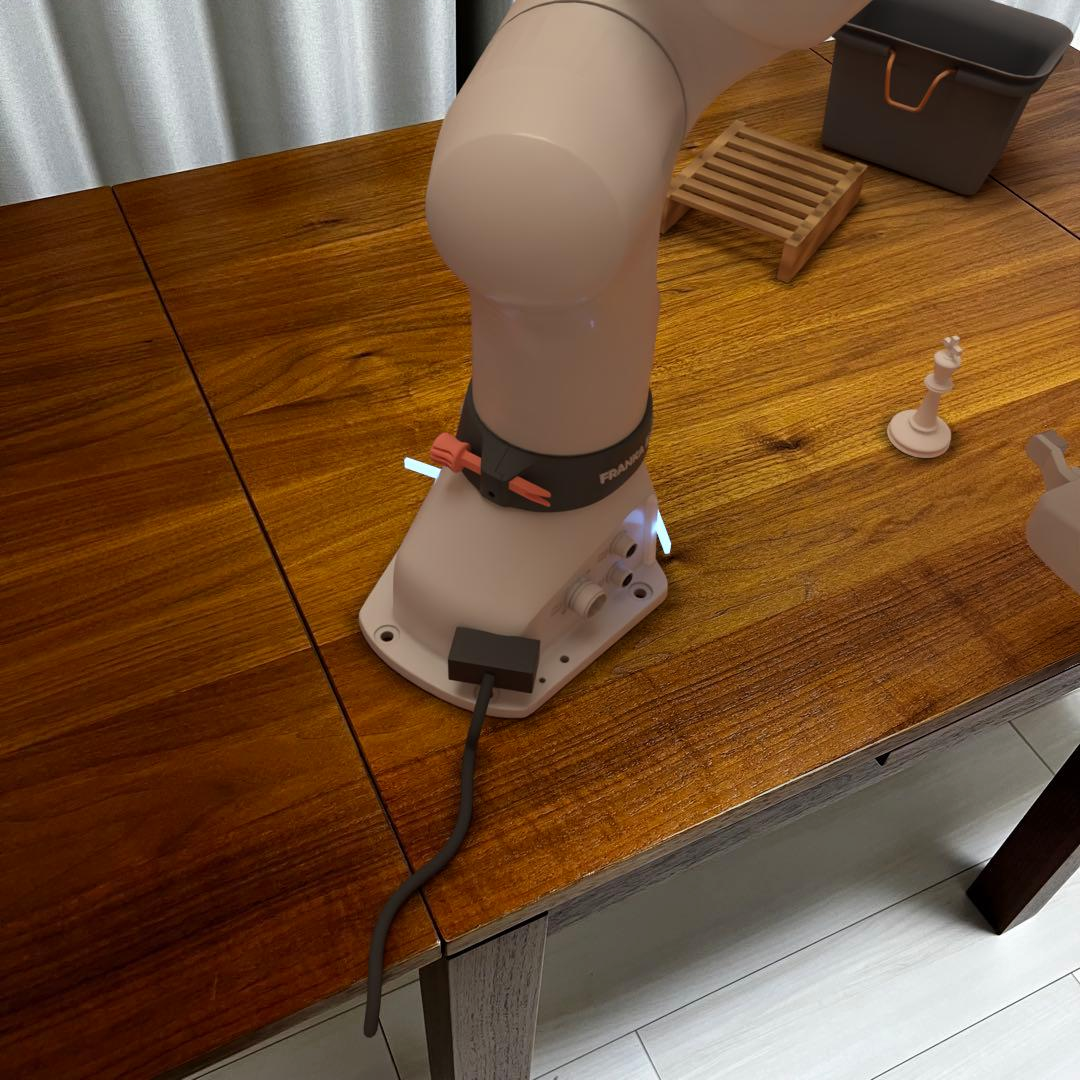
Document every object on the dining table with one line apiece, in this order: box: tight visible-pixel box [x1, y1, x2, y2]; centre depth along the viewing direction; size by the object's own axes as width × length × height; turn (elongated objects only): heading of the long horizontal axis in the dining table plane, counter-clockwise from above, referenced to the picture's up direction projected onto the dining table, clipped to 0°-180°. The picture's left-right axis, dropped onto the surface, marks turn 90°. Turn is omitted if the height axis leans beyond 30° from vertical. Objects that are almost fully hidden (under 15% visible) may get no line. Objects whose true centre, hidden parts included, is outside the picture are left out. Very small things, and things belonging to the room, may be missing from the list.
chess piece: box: [886, 334, 964, 459], centre depth 91 cm, size 5×5×10 cm
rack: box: [660, 119, 869, 284], centre depth 112 cm, size 16×14×4 cm
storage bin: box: [820, 0, 1075, 196], centre depth 116 cm, size 21×16×14 cm
